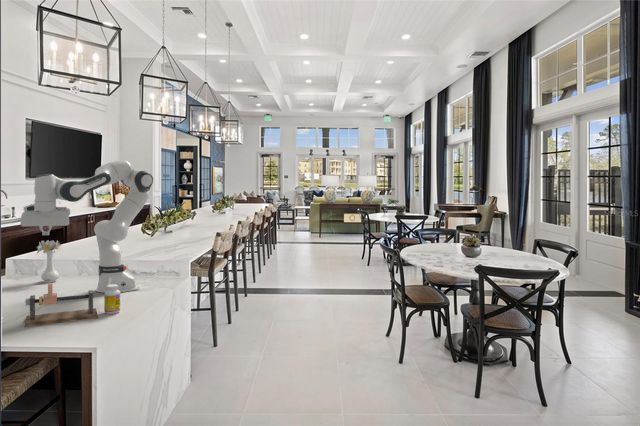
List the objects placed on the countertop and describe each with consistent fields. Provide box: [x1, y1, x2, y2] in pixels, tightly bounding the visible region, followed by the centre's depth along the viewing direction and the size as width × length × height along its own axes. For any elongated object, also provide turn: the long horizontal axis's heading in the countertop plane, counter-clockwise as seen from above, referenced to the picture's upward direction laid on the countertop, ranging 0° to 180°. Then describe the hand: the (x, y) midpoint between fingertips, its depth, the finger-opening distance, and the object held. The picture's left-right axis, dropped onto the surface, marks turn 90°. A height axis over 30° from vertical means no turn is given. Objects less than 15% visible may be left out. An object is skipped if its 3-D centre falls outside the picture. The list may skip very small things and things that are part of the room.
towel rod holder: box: [24, 289, 99, 327], centre depth 188 cm, size 27×11×11 cm, turn 121°
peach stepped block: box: [42, 282, 58, 306], centre depth 185 cm, size 5×4×9 cm
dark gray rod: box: [25, 294, 89, 307], centre depth 187 cm, size 24×4×4 cm, turn 121°
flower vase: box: [36, 239, 63, 284], centre depth 253 cm, size 13×18×25 cm
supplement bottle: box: [103, 284, 121, 315], centre depth 199 cm, size 7×7×13 cm
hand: (45, 235), depth 209 cm, fingers closed
